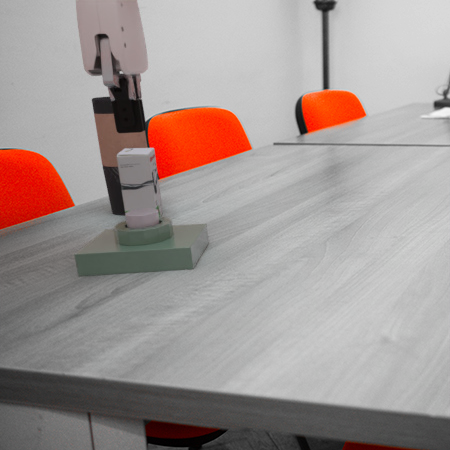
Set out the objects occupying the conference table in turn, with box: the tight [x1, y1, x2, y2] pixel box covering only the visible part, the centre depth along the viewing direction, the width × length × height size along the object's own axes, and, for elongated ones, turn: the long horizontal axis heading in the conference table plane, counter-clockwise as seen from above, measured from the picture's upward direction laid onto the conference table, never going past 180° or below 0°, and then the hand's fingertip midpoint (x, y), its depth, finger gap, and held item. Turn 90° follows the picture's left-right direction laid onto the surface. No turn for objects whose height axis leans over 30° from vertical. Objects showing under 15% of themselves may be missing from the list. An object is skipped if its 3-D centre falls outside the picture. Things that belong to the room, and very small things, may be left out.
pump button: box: [124, 208, 160, 229], centre depth 76 cm, size 4×4×2 cm
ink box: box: [117, 147, 164, 217], centre depth 95 cm, size 9×5×12 cm, turn 16°
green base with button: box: [73, 216, 210, 277], centre depth 77 cm, size 14×11×5 cm
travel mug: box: [91, 96, 149, 216], centre depth 101 cm, size 8×8×20 cm
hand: (132, 131), depth 73 cm, fingers closed
